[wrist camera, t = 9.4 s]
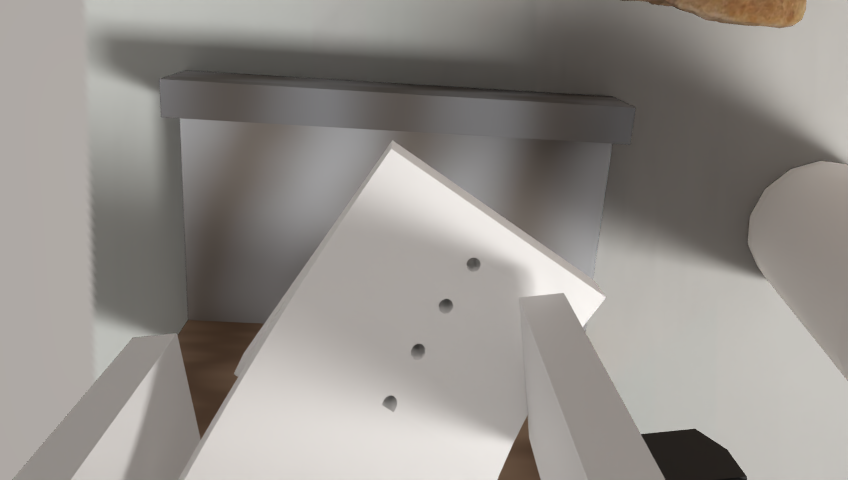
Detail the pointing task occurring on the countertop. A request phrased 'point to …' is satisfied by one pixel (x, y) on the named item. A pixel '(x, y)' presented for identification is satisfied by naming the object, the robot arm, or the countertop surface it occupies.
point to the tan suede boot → (742, 11)
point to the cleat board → (343, 175)
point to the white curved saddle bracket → (393, 343)
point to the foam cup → (808, 250)
